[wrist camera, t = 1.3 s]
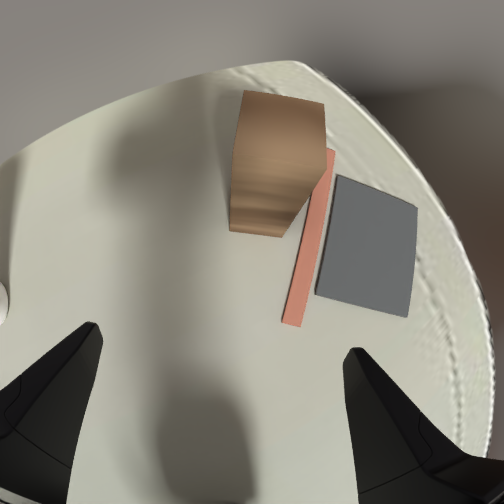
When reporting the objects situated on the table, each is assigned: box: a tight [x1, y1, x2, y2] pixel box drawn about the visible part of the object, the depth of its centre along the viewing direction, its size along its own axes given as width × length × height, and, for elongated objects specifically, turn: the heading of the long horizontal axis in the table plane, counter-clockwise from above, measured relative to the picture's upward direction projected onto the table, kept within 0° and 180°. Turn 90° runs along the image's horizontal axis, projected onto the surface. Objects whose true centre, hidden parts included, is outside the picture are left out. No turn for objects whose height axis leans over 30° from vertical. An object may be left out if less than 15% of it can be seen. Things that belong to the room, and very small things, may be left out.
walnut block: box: [229, 90, 327, 238], centre depth 19 cm, size 5×5×12 cm
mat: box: [315, 175, 418, 317], centre depth 25 cm, size 12×10×1 cm
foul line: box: [282, 148, 335, 327], centre depth 25 cm, size 18×2×1 cm, turn 165°
